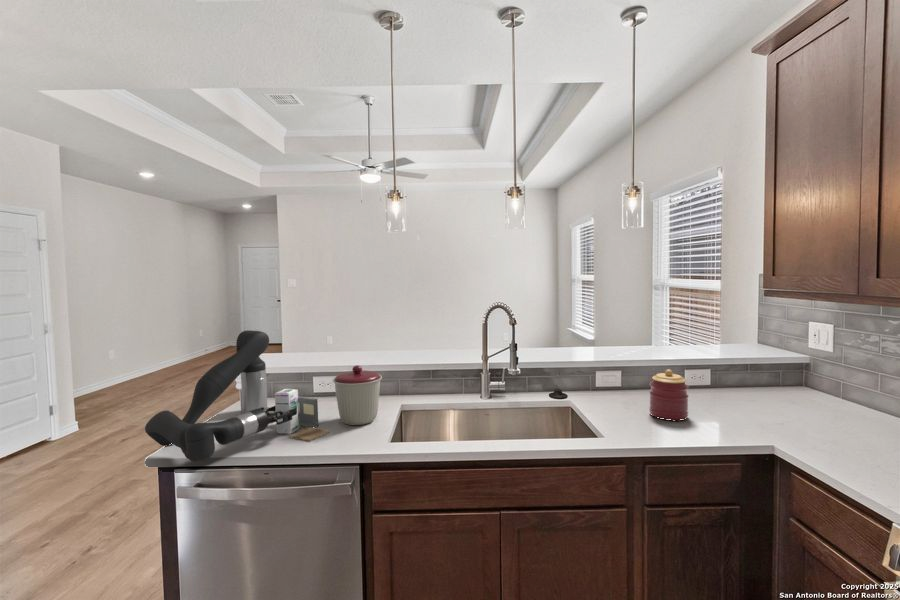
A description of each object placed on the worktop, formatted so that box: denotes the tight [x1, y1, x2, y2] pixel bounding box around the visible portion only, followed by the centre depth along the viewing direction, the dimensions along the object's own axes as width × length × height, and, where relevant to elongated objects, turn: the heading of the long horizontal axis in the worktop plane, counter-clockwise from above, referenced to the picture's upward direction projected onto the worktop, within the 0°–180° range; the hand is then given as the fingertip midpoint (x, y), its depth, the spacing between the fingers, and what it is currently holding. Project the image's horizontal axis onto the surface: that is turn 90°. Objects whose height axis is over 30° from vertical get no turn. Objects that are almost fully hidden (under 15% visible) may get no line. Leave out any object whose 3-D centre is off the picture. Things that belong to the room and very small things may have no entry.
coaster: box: [289, 427, 330, 442], centre depth 149 cm, size 9×9×1 cm
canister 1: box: [332, 365, 383, 426], centre depth 162 cm, size 18×18×21 cm
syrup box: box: [274, 388, 301, 435], centre depth 153 cm, size 6×6×14 cm
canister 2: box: [648, 368, 690, 420], centre depth 161 cm, size 13×13×18 cm
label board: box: [298, 395, 319, 428], centre depth 159 cm, size 13×3×10 cm, turn 64°
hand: (287, 409), depth 153 cm, fingers open, 8 cm apart
